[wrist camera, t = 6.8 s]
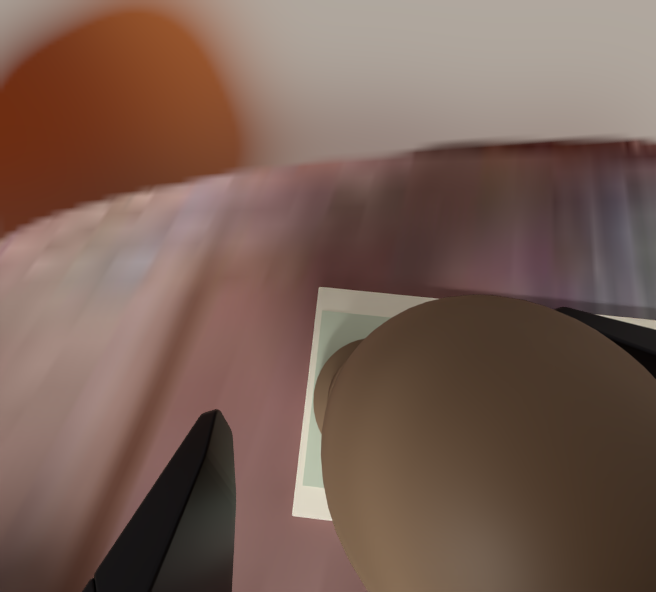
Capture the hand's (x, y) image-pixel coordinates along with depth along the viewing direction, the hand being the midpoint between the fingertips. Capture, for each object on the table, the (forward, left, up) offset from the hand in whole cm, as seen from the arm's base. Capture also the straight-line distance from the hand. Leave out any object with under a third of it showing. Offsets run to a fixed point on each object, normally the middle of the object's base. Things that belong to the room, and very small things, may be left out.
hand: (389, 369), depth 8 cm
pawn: (0, -1, -6) cm, 7 cm away
